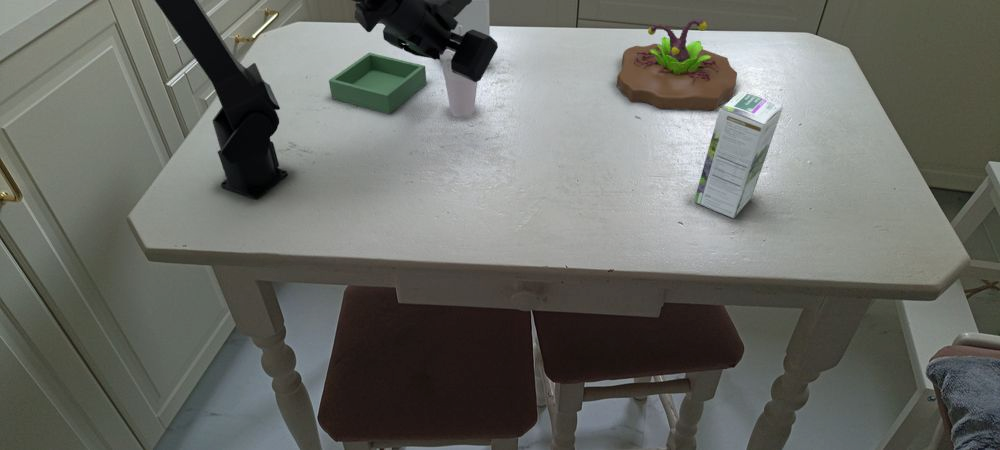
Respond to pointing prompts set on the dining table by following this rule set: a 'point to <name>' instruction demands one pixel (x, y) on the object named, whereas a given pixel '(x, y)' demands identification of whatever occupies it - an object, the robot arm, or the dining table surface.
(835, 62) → the dining table surface
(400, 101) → the caddy
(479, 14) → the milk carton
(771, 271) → the dining table surface
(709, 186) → the syrup box
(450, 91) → the smoothie
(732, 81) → the plant
